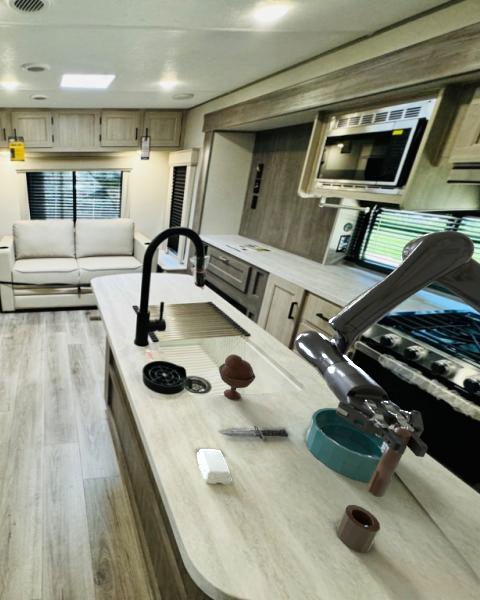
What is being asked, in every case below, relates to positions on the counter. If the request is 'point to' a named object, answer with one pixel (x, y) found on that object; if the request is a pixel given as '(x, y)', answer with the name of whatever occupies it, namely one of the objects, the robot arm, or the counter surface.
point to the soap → (213, 466)
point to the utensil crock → (358, 528)
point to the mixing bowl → (344, 445)
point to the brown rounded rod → (387, 466)
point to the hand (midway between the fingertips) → (412, 451)
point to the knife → (257, 433)
